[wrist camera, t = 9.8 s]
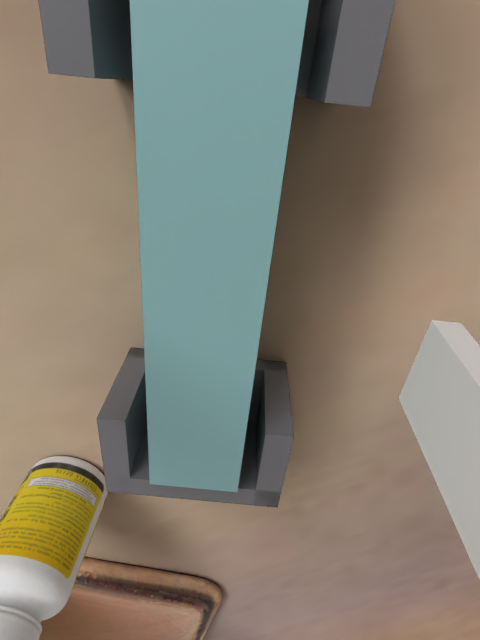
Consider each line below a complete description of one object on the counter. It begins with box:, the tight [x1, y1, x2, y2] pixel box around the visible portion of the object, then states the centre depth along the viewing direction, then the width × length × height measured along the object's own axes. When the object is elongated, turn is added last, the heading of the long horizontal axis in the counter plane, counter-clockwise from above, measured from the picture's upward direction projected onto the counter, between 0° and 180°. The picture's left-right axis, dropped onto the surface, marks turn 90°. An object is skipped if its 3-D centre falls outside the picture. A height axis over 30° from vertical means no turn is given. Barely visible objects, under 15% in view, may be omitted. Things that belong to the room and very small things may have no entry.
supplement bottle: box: [0, 456, 108, 640], centre depth 23 cm, size 5×5×10 cm
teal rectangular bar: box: [130, 0, 309, 492], centre depth 15 cm, size 18×4×5 cm, turn 175°
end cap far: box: [97, 348, 294, 507], centre depth 20 cm, size 5×8×5 cm, turn 85°
